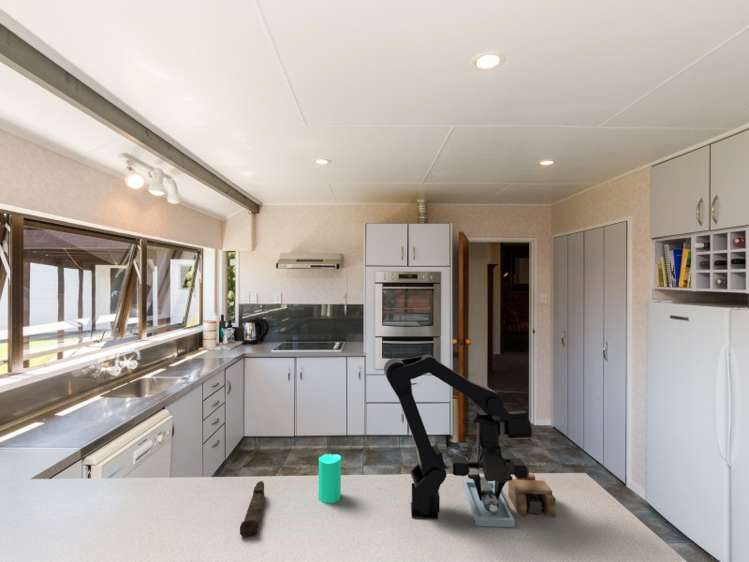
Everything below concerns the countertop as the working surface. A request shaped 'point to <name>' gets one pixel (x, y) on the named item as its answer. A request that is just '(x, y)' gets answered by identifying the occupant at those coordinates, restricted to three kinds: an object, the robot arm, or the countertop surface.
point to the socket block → (531, 486)
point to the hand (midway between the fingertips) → (488, 500)
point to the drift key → (532, 498)
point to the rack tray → (481, 514)
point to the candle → (329, 478)
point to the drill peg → (489, 497)
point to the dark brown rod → (253, 512)
